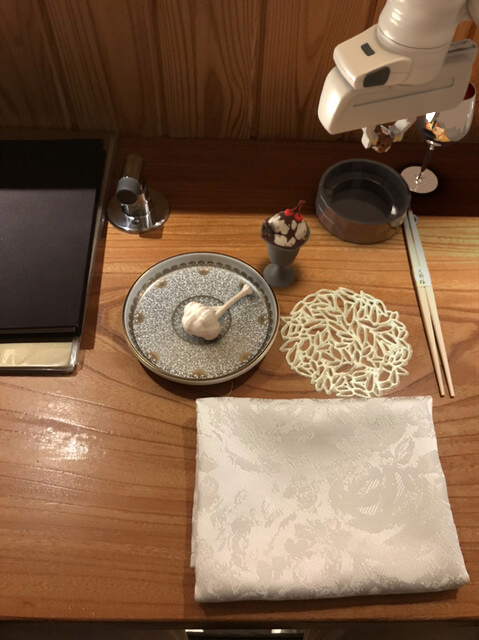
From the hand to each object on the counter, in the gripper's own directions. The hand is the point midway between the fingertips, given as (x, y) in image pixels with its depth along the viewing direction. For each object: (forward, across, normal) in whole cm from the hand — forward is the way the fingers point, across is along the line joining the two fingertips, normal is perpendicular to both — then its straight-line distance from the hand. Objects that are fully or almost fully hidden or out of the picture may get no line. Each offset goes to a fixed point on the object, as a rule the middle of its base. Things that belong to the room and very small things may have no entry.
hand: (380, 141), depth 80 cm
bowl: (+14, 0, 0) cm, 15 cm away
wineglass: (+15, -13, -4) cm, 20 cm away
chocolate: (+2, 0, 0) cm, 2 cm away
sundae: (+15, +17, +8) cm, 24 cm away
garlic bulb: (+15, +28, +12) cm, 34 cm away
